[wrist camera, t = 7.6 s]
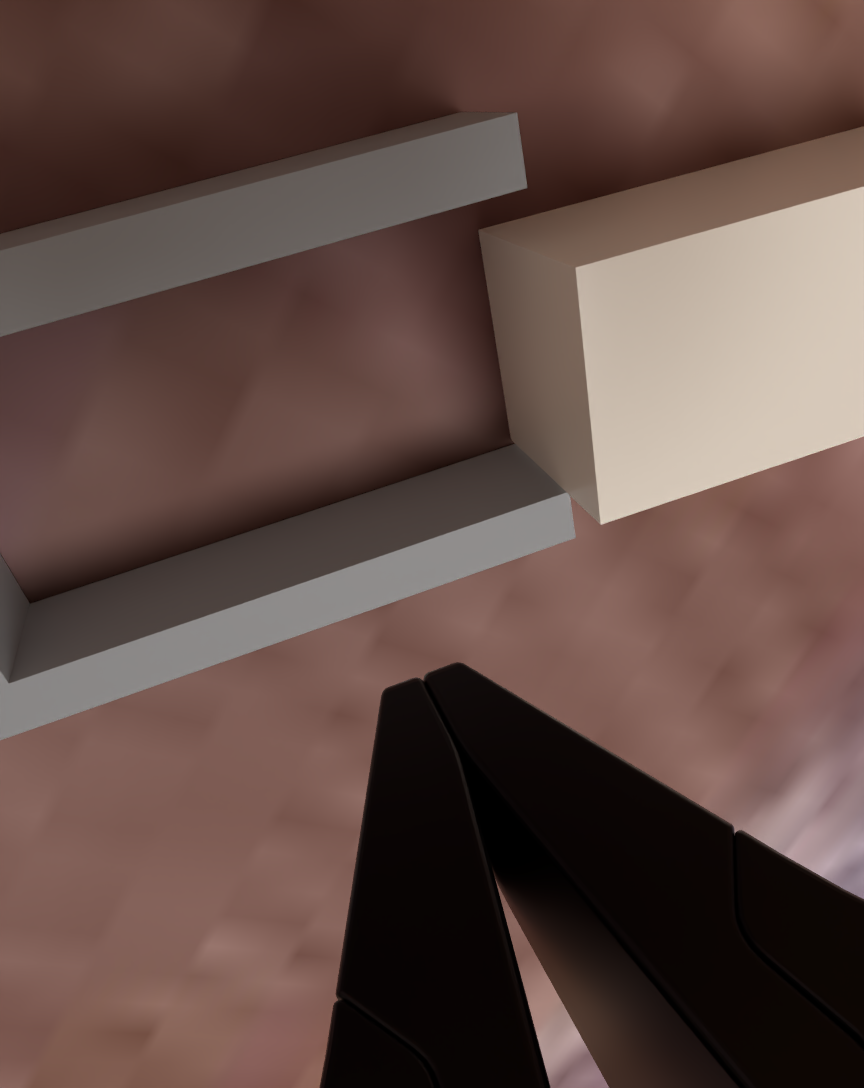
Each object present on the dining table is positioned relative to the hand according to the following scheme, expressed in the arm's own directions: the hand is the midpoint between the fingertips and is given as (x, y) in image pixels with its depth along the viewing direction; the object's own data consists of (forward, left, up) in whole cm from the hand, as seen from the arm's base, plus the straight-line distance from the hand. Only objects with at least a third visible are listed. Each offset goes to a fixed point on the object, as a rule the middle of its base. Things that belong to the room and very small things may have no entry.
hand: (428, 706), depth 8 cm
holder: (-1, 0, -11) cm, 11 cm away
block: (+10, 0, -11) cm, 15 cm away
